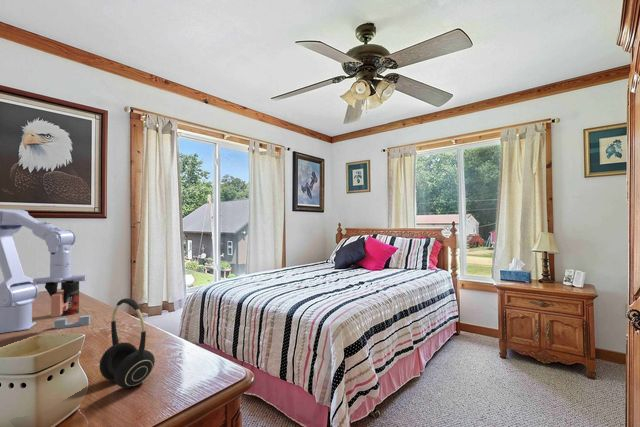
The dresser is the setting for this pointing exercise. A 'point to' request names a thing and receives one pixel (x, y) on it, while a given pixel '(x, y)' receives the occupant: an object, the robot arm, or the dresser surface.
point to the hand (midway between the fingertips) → (60, 303)
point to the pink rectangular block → (58, 303)
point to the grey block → (63, 322)
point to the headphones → (126, 356)
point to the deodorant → (72, 300)
